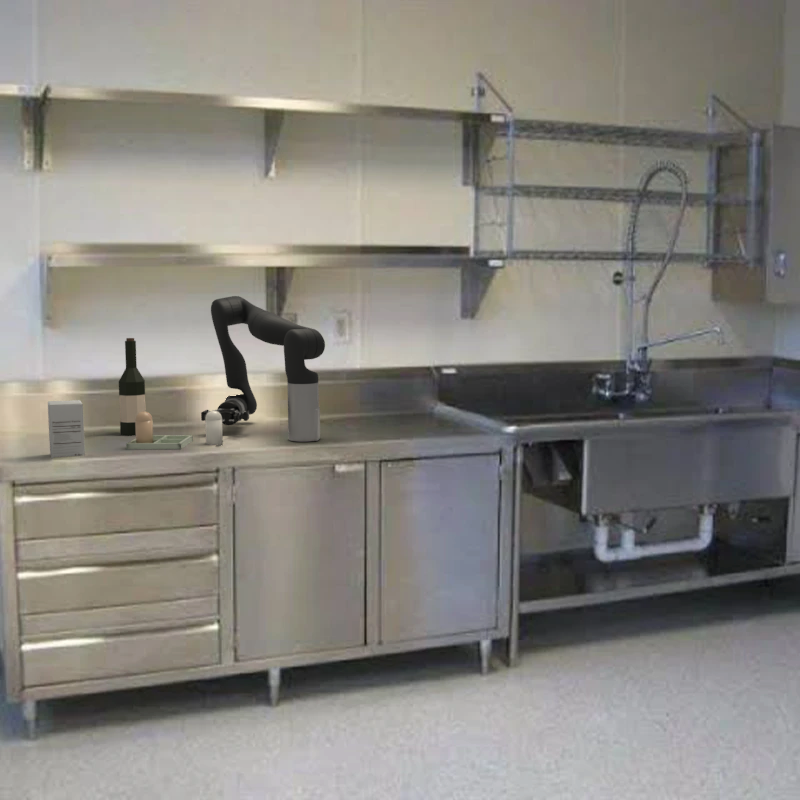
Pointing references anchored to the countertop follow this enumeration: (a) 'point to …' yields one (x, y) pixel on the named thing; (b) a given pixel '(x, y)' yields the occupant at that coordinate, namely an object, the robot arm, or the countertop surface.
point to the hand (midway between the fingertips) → (221, 418)
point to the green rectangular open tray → (162, 442)
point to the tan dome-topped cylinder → (144, 427)
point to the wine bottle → (130, 391)
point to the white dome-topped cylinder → (213, 428)
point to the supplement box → (66, 428)
